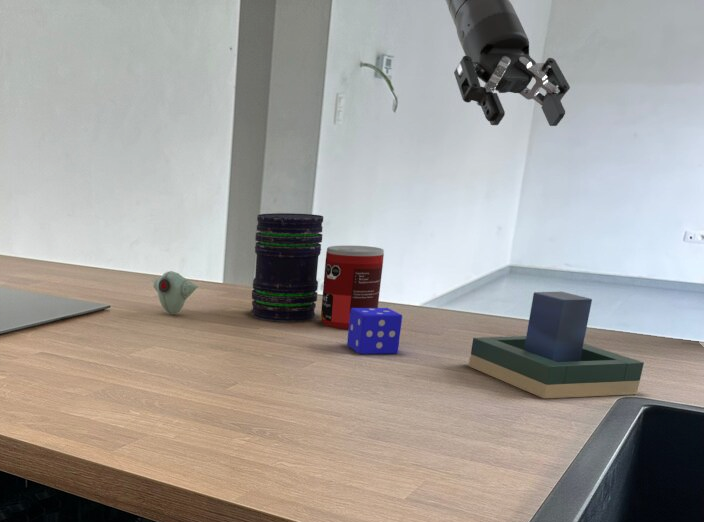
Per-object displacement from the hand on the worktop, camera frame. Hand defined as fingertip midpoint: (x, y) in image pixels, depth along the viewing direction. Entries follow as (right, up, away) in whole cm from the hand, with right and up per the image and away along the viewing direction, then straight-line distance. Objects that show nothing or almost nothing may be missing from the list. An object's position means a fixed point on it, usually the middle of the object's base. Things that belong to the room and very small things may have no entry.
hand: (528, 120), depth 112 cm
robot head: (-45, -22, +21) cm, 54 cm away
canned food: (-20, -25, +14) cm, 35 cm away
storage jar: (-28, -22, +21) cm, 41 cm away
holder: (-5, -35, -15) cm, 38 cm away
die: (-21, -30, -1) cm, 37 cm away
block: (-5, -34, -16) cm, 37 cm away
